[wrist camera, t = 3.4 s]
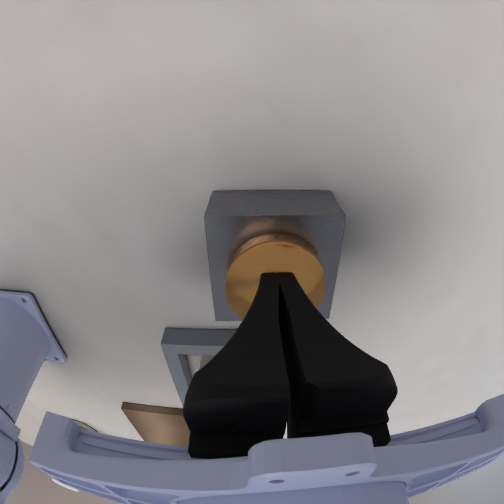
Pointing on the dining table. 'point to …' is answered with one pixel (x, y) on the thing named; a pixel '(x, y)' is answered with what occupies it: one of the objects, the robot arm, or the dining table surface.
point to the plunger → (272, 269)
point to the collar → (190, 351)
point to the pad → (158, 424)
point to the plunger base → (271, 232)
